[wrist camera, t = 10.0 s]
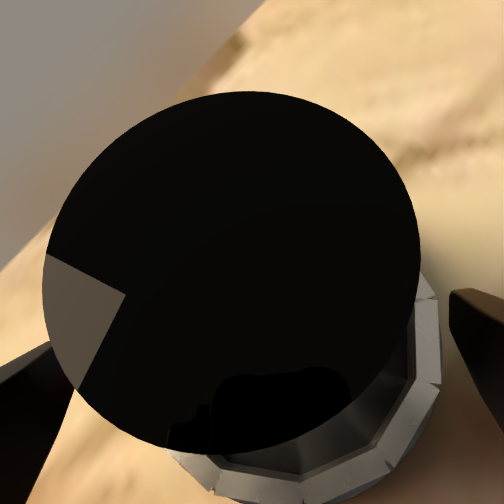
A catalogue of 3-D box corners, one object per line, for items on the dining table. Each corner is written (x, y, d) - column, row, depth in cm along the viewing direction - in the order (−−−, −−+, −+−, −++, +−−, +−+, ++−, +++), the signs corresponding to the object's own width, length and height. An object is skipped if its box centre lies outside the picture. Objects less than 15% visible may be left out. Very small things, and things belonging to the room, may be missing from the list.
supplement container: (296, 233, 18) (268, 38, 8) (396, 356, 15) (525, 279, 6) (175, 316, 17) (-4, 212, 8) (256, 458, 15) (136, 565, 5)
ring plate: (445, 536, 14) (467, 561, 11) (112, 475, 16) (81, 486, 14) (430, 209, 18) (444, 183, 16) (171, 201, 21) (154, 179, 18)
